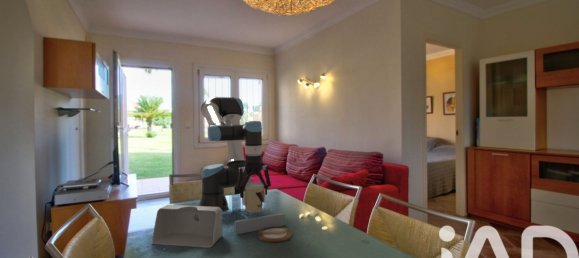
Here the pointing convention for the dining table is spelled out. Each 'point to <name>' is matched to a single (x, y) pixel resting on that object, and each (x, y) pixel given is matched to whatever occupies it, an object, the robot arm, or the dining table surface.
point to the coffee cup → (253, 196)
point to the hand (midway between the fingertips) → (253, 203)
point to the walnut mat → (274, 234)
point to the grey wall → (259, 223)
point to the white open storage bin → (188, 225)
